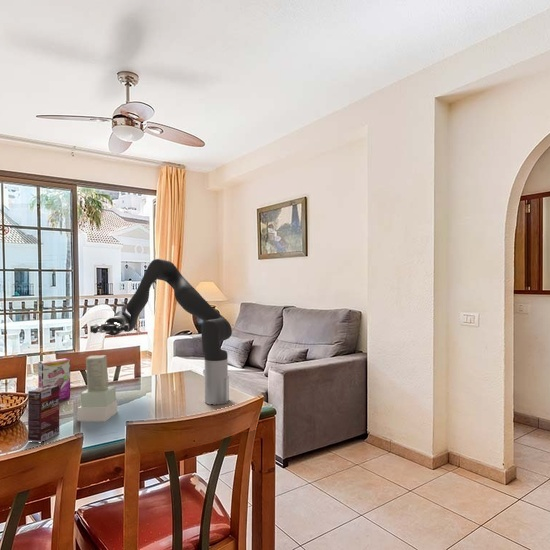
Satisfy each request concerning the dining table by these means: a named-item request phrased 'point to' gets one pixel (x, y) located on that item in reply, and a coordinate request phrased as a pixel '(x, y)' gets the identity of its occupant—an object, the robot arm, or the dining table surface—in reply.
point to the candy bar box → (55, 375)
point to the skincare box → (97, 373)
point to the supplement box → (43, 413)
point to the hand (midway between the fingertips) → (105, 330)
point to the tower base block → (97, 412)
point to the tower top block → (98, 397)
